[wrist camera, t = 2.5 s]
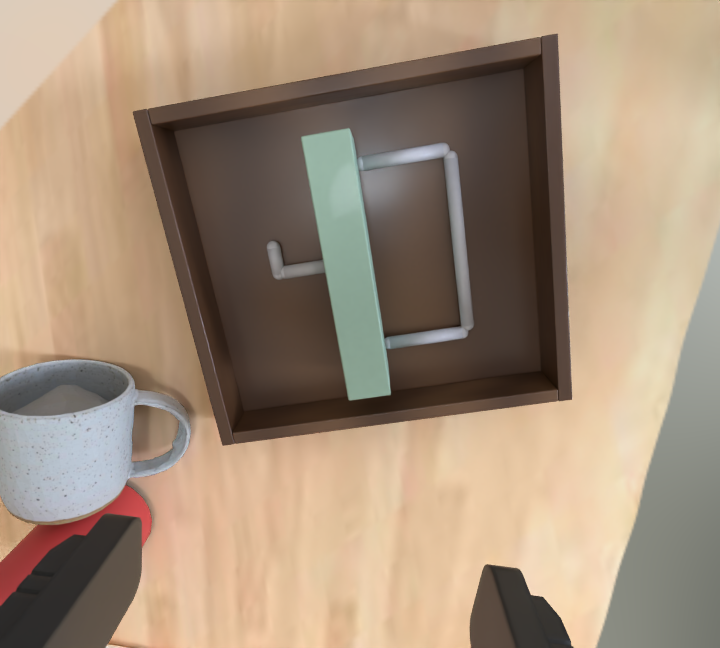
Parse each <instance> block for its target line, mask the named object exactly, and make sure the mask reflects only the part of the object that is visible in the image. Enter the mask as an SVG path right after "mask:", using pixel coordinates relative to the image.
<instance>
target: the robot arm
mask: <svg viewBox="0 0 720 648" xmlns="http://www.w3.org/2000/svg"><path fill="white" fill-rule="evenodd" d="M141 569H142V521H141V518H139V517H134V516H126V515H118V514H111V513H106V514H104V515H103V516H102V517H101V518H100V519H99V520H98V521H97V522H96V524H95V525H94V526H93V527H92V529H91V530H90V531H89V532H88V534H87V535H86V536H85V535H77V534H74V535H72V536H71V537H69V538H67V539H66V540H64V541H63V542H61V543H60V544H58V545H57V546H55V547H54V548H52V549H51V550H49V551H48V553H47V554H46V555H45V556H44V557H43V558H42V559H41V561H40V562H39V563H38V564H37V565H36V566H35V567H34V568H33V570H32V572H31V574H28V575H27V576H26V578H25V579H24V580H23V581H22V582H21V583H20V584H19V586H18V587H17V589H16V591H15V592H12V593H11V595H10V596H9V597H8V598H7V599H6V600H5V601H4V603H3V604H2V605H1V606H0V648H106V646H107V644H108V643H109V641H110V639H111V637H112V636H113V634H114V632H115V630H116V629H117V627H118V625H119V623H120V622H121V620H122V618H123V616H124V615H125V613H126V611H127V609H128V608H129V606H130V604H131V602H132V601H133V599H134V596H135V594H136V591H137V589H138V585H139V582H140V577H141ZM470 642H471V648H573V646H571V641H570V638H569V636H568V634H567V632H566V629H565V627H564V625H563V622H562V620H561V618H560V617H559V616H558V614H557V613H556V612H555V611H554V610H553V608H552V607H551V606H550V605H549V604H548V602H547V601H546V600H545V599H544V598H543V597H540V596H532V595H530V592H529V589H528V587H527V584H526V582H525V579H524V577H523V574H522V572H521V571H520V570H519V569H518V568H511V567H503V566H495V565H488V564H487V565H485V566H484V568H483V571H482V575H481V578H480V582H479V586H478V590H477V594H476V598H475V601H474V605H473V609H472V613H471V618H470Z"/></svg>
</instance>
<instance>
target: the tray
mask: <svg viewBox="0 0 720 648" xmlns="http://www.w3.org/2000/svg"><path fill="white" fill-rule="evenodd" d="M133 115H134V119H135V123H136V126H137V130H138V134H139V138H140V141H141V145H142V149H143V152H144V156H145V160H146V164H147V167H148V171H149V175H150V178H151V182H152V186H153V190H154V193H155V197H156V201H157V204H158V208H159V212H160V215H161V219H162V223H163V227H164V230H165V234H166V238H167V241H168V245H169V249H170V253H171V256H172V260H173V264H174V267H175V271H176V275H177V279H178V282H179V286H180V290H181V293H182V297H183V301H184V304H185V308H186V312H187V316H188V319H189V323H190V327H191V330H192V334H193V338H194V342H195V345H196V349H197V353H198V356H199V360H200V364H201V367H202V371H203V375H204V379H205V382H206V386H207V390H208V393H209V397H210V401H211V405H212V408H213V412H214V416H215V419H216V423H217V427H218V431H219V434H220V438H221V442H222V445H231V444H237V443H245V442H252V441H260V440H267V439H275V438H282V437H290V436H298V435H305V434H313V433H320V432H328V431H335V430H343V429H350V428H358V427H366V426H373V425H381V424H388V423H396V422H403V421H411V420H418V419H426V418H434V417H441V416H449V415H456V414H464V413H471V412H479V411H486V410H494V409H502V408H509V407H517V406H524V405H532V404H539V403H547V402H554V401H564V400H572V382H571V357H570V332H569V307H568V282H567V257H566V232H565V207H564V181H563V156H562V131H561V106H560V81H559V56H558V34H552V35H547V36H542V37H541V38H540V37H537V38H532V39H526V40H521V41H515V42H510V43H504V44H499V45H494V46H488V47H483V48H477V49H472V50H466V51H461V52H455V53H450V54H444V55H439V56H434V57H428V58H423V59H417V60H412V61H406V62H401V63H395V64H390V65H384V66H379V67H373V68H368V69H363V70H357V71H352V72H346V73H341V74H335V75H330V76H324V77H319V78H313V79H308V80H303V81H297V82H292V83H286V84H281V85H275V86H270V87H264V88H259V89H253V90H248V91H243V92H237V93H232V94H226V95H221V96H215V97H210V98H204V99H199V100H193V101H188V102H182V103H177V104H172V105H166V106H161V107H155V108H150V109H144V110H138V111H134V112H133ZM346 128H349V129H350V131H351V133H352V136H353V138H354V143H355V150H356V157H357V159H358V158H359V157H361V156H367V155H373V154H379V153H385V152H391V151H396V150H402V149H408V148H414V147H420V146H426V145H432V144H437V143H446V144H448V146H449V148H450V151H454V152H455V153H456V154H457V156H458V166H459V176H460V186H461V197H462V207H463V217H464V227H465V238H466V248H467V258H468V268H469V279H470V289H471V299H472V310H473V320H474V326H473V328H472V329H471V330H468V336H467V337H466V338H464V339H458V340H451V341H444V342H437V343H430V344H423V345H416V346H409V347H402V348H395V349H387V348H386V352H387V359H388V368H389V378H390V389H391V395H386V396H379V397H372V398H364V399H357V400H349V399H348V394H347V389H346V383H345V378H344V373H343V367H342V362H341V356H340V351H339V345H338V340H337V334H336V329H335V323H334V318H333V312H332V307H331V301H330V296H329V290H328V285H327V279H326V274H325V273H320V274H314V275H307V276H301V277H294V278H288V279H281V280H277V279H275V278H274V277H273V275H272V270H271V265H270V261H269V256H268V251H267V244H268V243H269V242H270V241H276V242H278V243H279V245H280V248H281V253H282V258H283V263H284V266H286V265H293V264H299V263H305V262H312V261H318V260H323V257H322V252H321V246H320V241H319V235H318V230H317V224H316V219H315V213H314V208H313V202H312V197H311V191H310V186H309V180H308V175H307V169H306V164H305V158H304V153H303V147H302V142H301V137H302V136H306V135H312V134H318V133H324V132H329V131H335V130H341V129H346ZM443 158H444V157H443ZM443 158H437V159H431V160H426V161H420V162H414V163H408V164H402V165H396V166H390V167H384V168H378V169H372V170H366V171H360V170H359V169H358V170H359V176H360V183H361V189H362V196H363V202H364V209H365V215H366V222H367V228H368V235H369V241H370V248H371V254H372V261H373V268H374V274H375V281H376V287H377V294H378V300H379V307H380V313H381V320H382V326H383V333H384V339H385V338H387V337H390V336H397V335H404V334H411V333H418V332H425V331H432V330H439V329H446V328H453V327H459V326H461V321H460V312H459V302H458V293H457V283H456V274H455V264H454V255H453V245H452V236H451V226H450V217H449V207H448V198H447V188H446V179H445V169H444V160H443Z"/></svg>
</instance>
